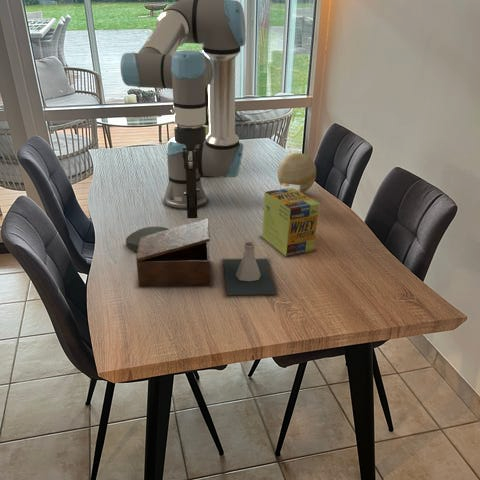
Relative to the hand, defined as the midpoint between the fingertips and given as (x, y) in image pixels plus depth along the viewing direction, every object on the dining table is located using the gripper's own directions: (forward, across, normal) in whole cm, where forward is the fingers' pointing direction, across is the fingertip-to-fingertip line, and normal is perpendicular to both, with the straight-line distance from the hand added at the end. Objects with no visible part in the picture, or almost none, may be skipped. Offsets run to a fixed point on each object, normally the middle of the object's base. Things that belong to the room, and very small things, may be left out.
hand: (192, 217), depth 134 cm
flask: (+17, +2, +15) cm, 23 cm away
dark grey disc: (+17, -19, -12) cm, 29 cm away
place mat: (+17, +2, +15) cm, 23 cm away
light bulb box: (+17, -39, +33) cm, 54 cm away
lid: (+7, 0, -5) cm, 8 cm away
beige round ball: (+17, -65, +40) cm, 78 cm away
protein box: (+17, -19, +30) cm, 39 cm away
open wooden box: (+17, 0, -5) cm, 18 cm away
